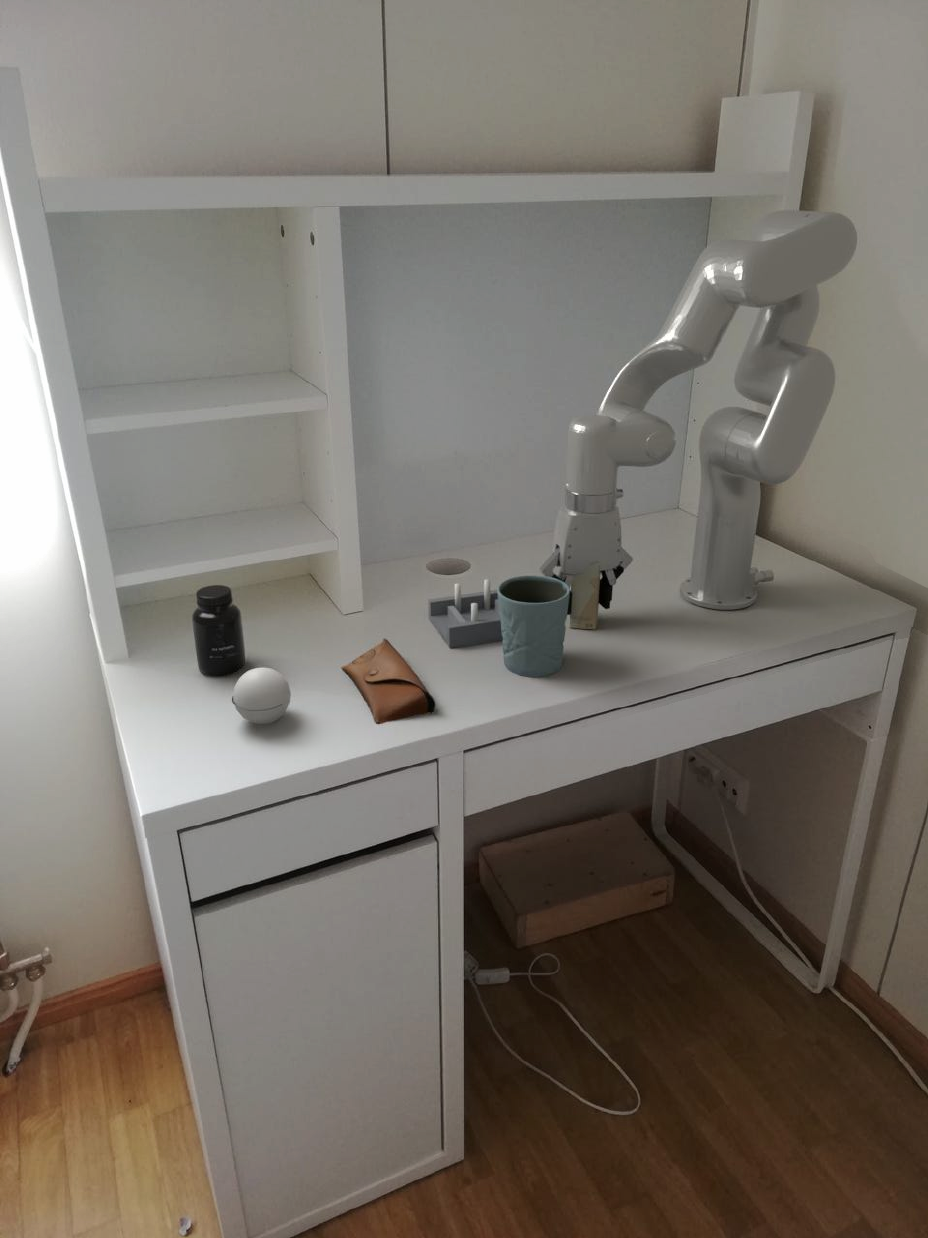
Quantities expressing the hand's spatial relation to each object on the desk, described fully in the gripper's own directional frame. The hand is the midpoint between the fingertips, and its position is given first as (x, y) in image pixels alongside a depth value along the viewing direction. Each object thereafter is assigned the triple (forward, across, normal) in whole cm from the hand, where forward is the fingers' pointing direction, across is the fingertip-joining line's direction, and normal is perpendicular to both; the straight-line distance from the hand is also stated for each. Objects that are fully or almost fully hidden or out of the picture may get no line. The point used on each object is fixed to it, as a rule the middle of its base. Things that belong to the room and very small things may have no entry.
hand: (584, 607), depth 144 cm
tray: (+3, +16, -4) cm, 17 cm away
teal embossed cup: (+3, +13, +10) cm, 17 cm away
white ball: (+3, +53, +14) cm, 55 cm away
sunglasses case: (+3, +35, +10) cm, 37 cm away
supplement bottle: (+3, +56, -4) cm, 56 cm away
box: (+3, 0, 0) cm, 3 cm away
